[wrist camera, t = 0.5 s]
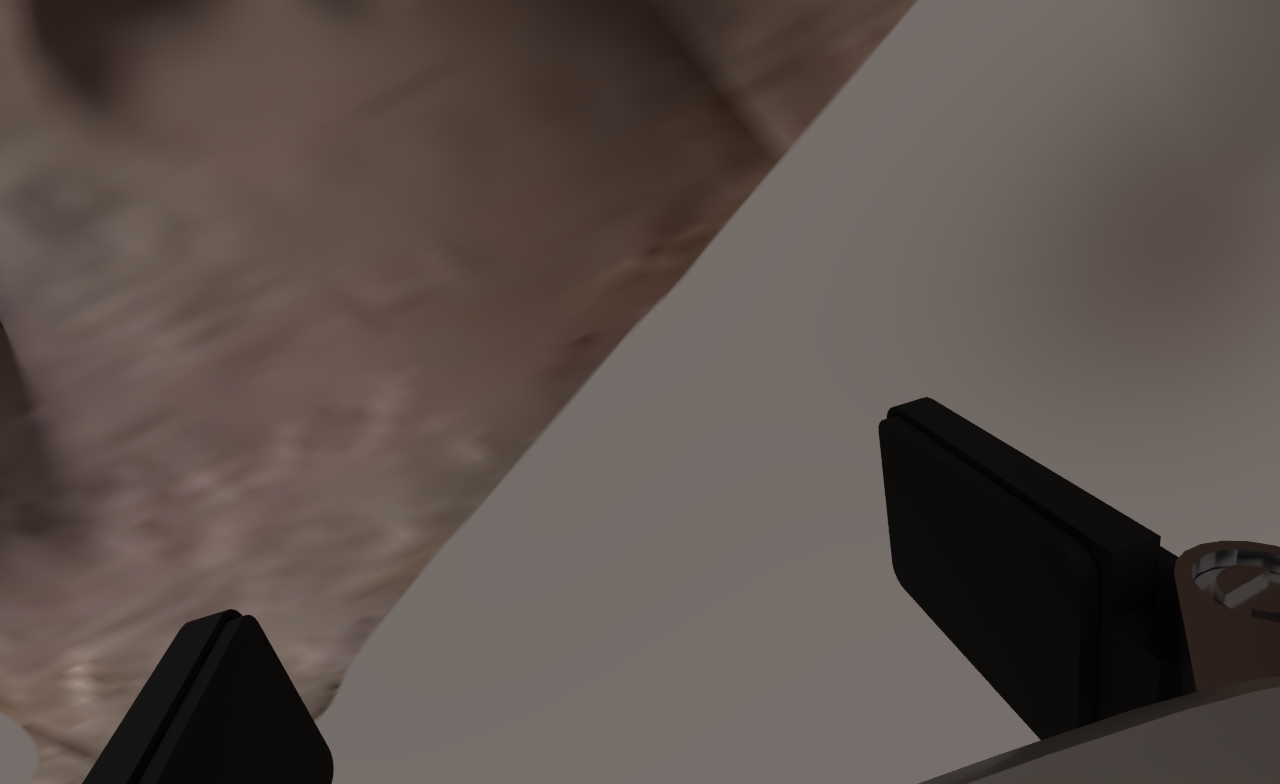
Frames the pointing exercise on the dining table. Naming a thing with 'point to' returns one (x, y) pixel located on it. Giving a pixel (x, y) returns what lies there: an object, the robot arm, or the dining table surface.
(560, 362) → the dining table surface
